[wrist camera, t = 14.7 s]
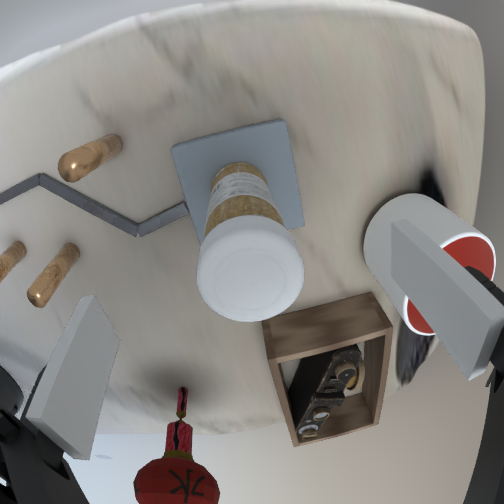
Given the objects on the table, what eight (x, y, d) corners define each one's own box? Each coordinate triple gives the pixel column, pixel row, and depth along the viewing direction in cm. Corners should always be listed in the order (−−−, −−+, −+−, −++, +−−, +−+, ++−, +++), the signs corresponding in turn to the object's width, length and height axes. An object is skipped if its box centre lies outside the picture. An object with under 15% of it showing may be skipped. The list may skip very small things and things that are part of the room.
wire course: (18, 277, 29) (-15, 319, 22) (-34, 150, 21) (-82, 173, 14) (195, 228, 28) (185, 275, 21) (144, 53, 20) (111, 37, 13)
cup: (367, 186, 27) (423, 231, 19) (447, 192, 28) (509, 233, 19) (351, 278, 32) (389, 343, 23) (426, 273, 33) (472, 327, 24)
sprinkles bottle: (243, 225, 26) (257, 340, 14) (198, 192, 25) (173, 292, 13) (279, 184, 25) (328, 274, 13) (235, 148, 23) (244, 208, 11)
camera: (325, 395, 42) (338, 440, 35) (282, 396, 41) (290, 443, 34) (368, 309, 35) (395, 357, 28) (315, 306, 34) (335, 359, 27)
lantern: (204, 413, 42) (208, 604, 16) (143, 397, 40) (121, 595, 13) (229, 379, 38) (243, 611, 12) (157, 359, 36) (131, 606, 9)
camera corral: (287, 414, 44) (293, 446, 38) (261, 319, 34) (267, 359, 28) (366, 393, 43) (378, 424, 38) (371, 291, 33) (393, 326, 28)
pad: (203, 239, 29) (202, 249, 27) (174, 144, 24) (170, 149, 23) (299, 216, 28) (304, 225, 27) (281, 118, 24) (285, 120, 22)
